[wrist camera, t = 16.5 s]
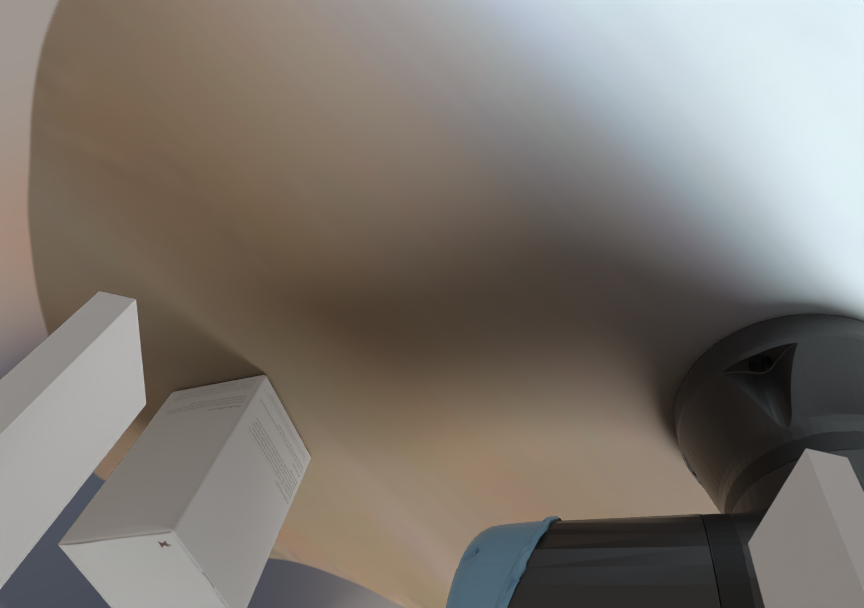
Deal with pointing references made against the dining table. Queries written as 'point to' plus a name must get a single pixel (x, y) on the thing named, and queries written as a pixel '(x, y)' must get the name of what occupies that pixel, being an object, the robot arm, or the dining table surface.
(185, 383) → the dining table surface
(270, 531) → the supplement box
